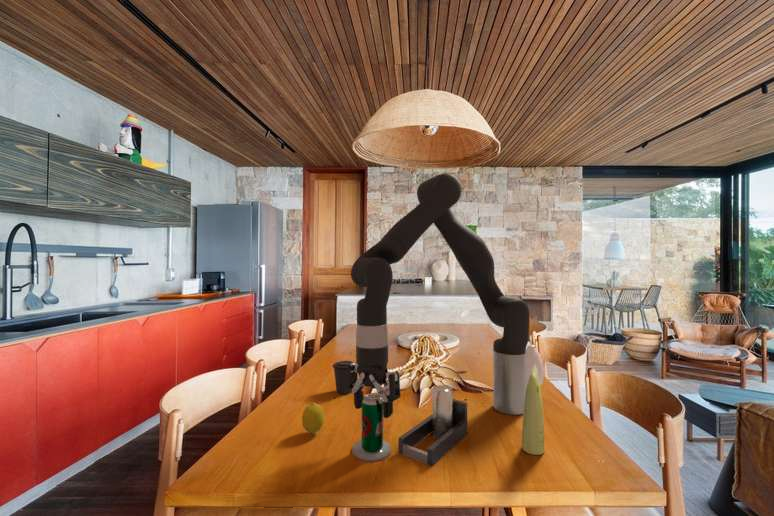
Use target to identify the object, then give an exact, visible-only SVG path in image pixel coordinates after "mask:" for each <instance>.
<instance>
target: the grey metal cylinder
mask: <svg viewBox="0 0 774 516" xmlns="http://www.w3.org/2000/svg"><path fill="white" fill-rule="evenodd" d="M453 390H454V389H453V388H452V387H451V386H449V385H443V384H442V385H441V384H440V385H434V386H433V387H432V414H433V432H432V438H433V437H434V438H435V439H434V438H433V439H434V440H435V441H437V440H438V439H439V438H441V437H442V436H443V435H444V434H445V433H447V432H448V431H449V430H450V429H451V428H453V399H454V398H453V397H454V396H453V392H454V391H453Z"/></svg>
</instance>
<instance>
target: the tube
mask: <svg viewBox="0 0 774 516" xmlns="http://www.w3.org/2000/svg"><path fill="white" fill-rule="evenodd" d="M543 406H544V405H543V397H542V389H541V386H540V381H539V376H538V371H537V368H536V363H535V365H534V367H533V370H532V373H531V375H530V377H529V380H528V384H527V389H526V395H525V402H524V412H523V414H522V416H523V417H522V428H521V429H522V432H521V435H522V436H521V449H522V450H523V451H524V452H526V453H527V454H530V455H532V456H533V455H534V456H540V455H543V454H544V453H545V428H544V427H545V426H544V425H545V424H544V423H545V422H544V421H545V420H544V407H543Z"/></svg>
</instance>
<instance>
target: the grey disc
mask: <svg viewBox="0 0 774 516" xmlns="http://www.w3.org/2000/svg"><path fill="white" fill-rule="evenodd" d="M361 442H362V439H361V440H358V441H357V442H355V443H354V444H353V445H352V451H351V452H352V454H353V456H354V457H355V458H356V459H357V460H360V461H362V462H378V461H382V460H384V459H386V458H387V457H389V456H390V454H391V452H392V450H391V449H392V446H391V444H390V443H389V442H388V441H387V440H384V439H383V447H382V448H381V450H379V451H378V452H367V451H365V450H364V449H363V448H362V446H361Z"/></svg>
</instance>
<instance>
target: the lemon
mask: <svg viewBox="0 0 774 516" xmlns="http://www.w3.org/2000/svg"><path fill="white" fill-rule="evenodd" d="M324 413H325V412H324V410H323V408H322V406H321V405H320V404H318V403H316V402H311V403H310V404H308V405H307V406H305V408H304V409H303V412H302V416H301V417H302V418H301V421H302V427H303V428H304V430H305V431H306V432H307V433H310V434H312V435H315V434H316V433H317V432H319V431H321V429H322V427H323V425H324V421H325V414H324Z"/></svg>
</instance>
